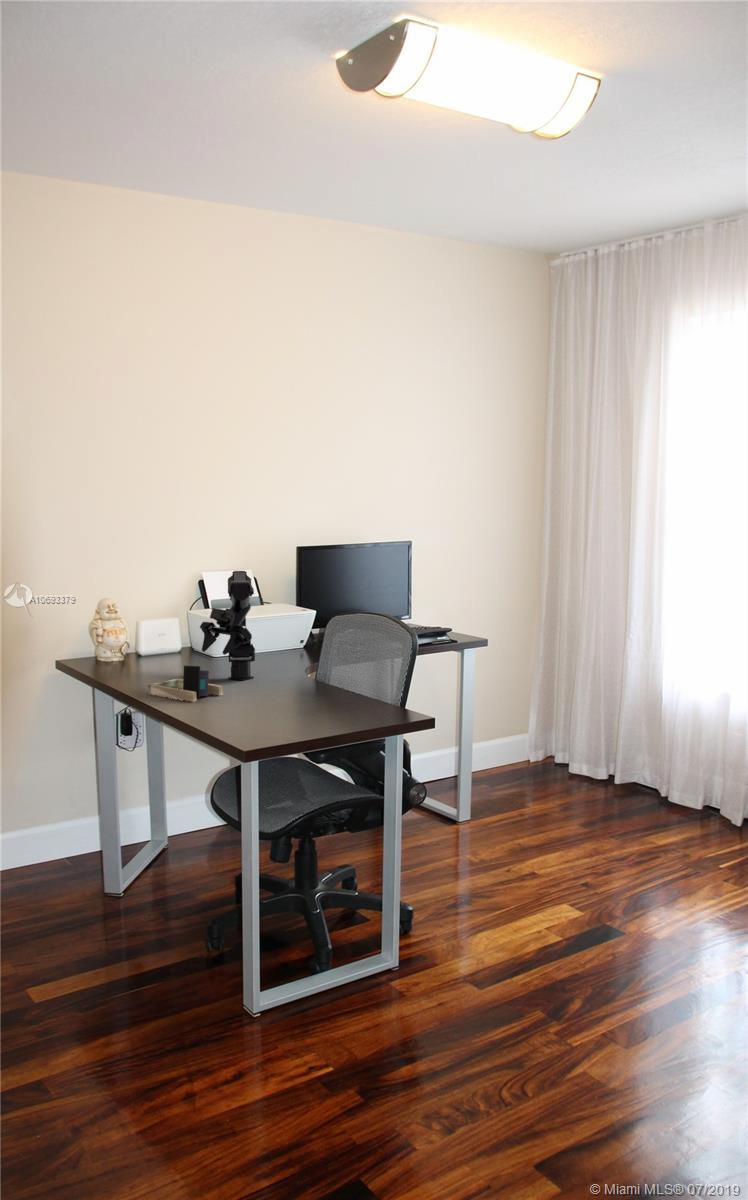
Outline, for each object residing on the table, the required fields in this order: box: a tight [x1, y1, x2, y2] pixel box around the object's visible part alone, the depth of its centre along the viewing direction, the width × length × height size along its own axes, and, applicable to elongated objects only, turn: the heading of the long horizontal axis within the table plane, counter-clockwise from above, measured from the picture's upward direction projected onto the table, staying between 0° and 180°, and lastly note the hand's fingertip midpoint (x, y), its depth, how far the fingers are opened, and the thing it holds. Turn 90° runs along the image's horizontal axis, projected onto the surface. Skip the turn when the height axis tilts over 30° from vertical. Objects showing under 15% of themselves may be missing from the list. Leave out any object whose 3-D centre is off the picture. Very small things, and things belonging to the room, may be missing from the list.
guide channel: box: [146, 678, 224, 703], centre depth 311 cm, size 13×20×3 cm, turn 55°
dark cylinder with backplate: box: [182, 665, 210, 700], centre depth 307 cm, size 8×6×10 cm
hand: (213, 652), depth 313 cm, fingers open, 9 cm apart
